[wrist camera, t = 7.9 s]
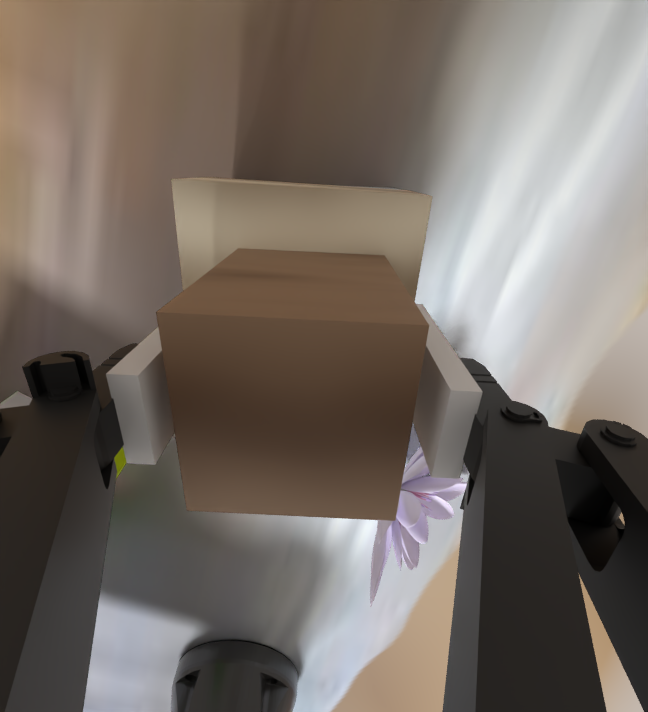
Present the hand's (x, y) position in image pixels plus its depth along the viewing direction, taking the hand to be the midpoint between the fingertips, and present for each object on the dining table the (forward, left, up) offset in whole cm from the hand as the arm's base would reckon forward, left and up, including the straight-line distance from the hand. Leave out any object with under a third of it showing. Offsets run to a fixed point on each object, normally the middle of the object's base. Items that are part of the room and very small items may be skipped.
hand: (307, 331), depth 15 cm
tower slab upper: (0, 0, -7) cm, 7 cm away
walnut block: (0, 0, -2) cm, 2 cm away
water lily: (-17, -9, -12) cm, 22 cm away
